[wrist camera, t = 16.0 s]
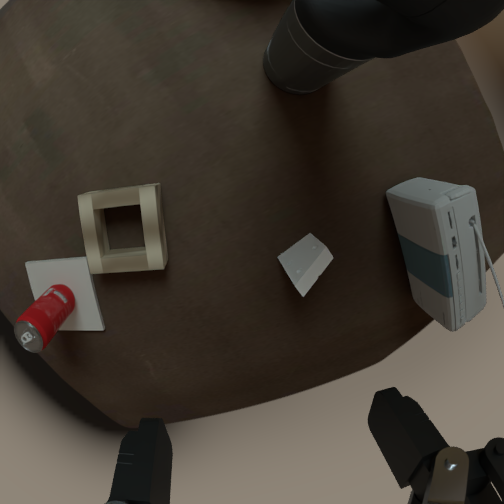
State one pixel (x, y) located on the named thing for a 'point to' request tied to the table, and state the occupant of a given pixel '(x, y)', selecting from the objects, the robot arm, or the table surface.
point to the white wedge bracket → (305, 262)
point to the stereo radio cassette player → (442, 248)
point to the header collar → (97, 236)
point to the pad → (77, 280)
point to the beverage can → (44, 317)
